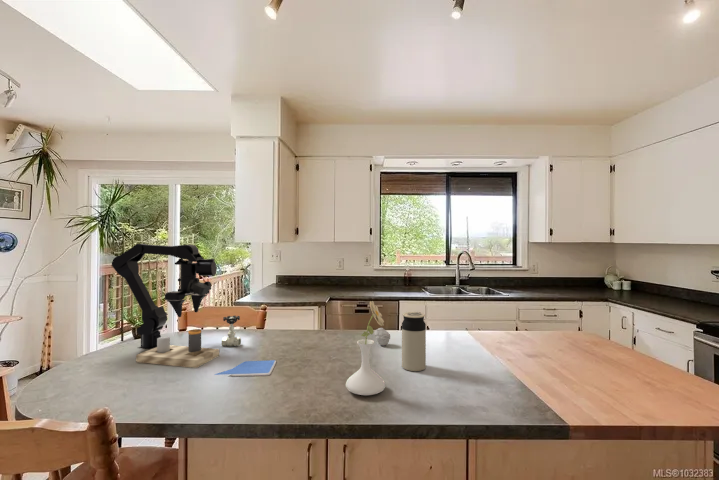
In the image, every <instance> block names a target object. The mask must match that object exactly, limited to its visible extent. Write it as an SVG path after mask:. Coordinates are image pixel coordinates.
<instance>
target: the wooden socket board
mask: <svg viewBox="0 0 719 480" xmlns="http://www.w3.org/2000/svg"><path fill="white" fill-rule="evenodd" d="M219 356H220V348H209V347H201V350H200V351H197V352H189V351H188V346H185V345H173V344H172V345H171V344H170V351H168V352H166V353H157V347H155V348H152V349H147V350H145V351H143V352H140V353H138V354H136V358H135V361H136V363H142V364H152V365H153V364H154V365H155V364H156V365H162V366H163V365H165V366H173V367H185V368H192V369H193V368H194V369H197V368H199V367H201V366H202V365H205V364H206V363H209V362H211V361H212V360H214V359H216V358H218V357H219Z"/></svg>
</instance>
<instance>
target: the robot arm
mask: <svg viewBox="0 0 719 480" xmlns="http://www.w3.org/2000/svg"><path fill="white" fill-rule="evenodd" d="M146 254H148V255H159V256H160V255H161V256H170V257H175V258H178V260H177V261H175V262H174V265H176V266H177V265H179V266H180V268H179V269H180V271H179V272H180V278H177V282H180V285H179V288H178V289H177V291H176V290H173V291H168V292H166V293H165V294H164V300H165V301H167V302H168V303H169V304H170V306H171V307H172V308H173V310H174V312H175V313H176V316H177V317H178V318H181V317H182V315H183V303H184V302H185V301H186V299H185V298H186V297H188V296H190V297H191V303H192V307H193V311H194V313H198V311H199V309H200V307H201V304H202V301H203V299H204V298H205V297H207V296H208V294H210V291H211V290H212V282H211V281H204V282H201V281H200V279H199V277H197V274H198V276H201V277H202V276H203V277H204V276H205V277H207V276H208V277H209V276H210V277H211V276H214V277H215V275H216V274H217V271H218V266H217V264H216V262H215V258H207V259H206V258H204V257H203V255H201V253H200V252H199V249H198V247H197V246H196V245H194V244H179V245H172V246H171V245H160V244H159V245H157V244H147V243H137V244H135V245H133V246H132V247H131V248H129V249H128V250H126V251H124V252H122V253H121V254H120V255H118V256H115V257H114V258H113V260H112V261H111V267H112V268H113V269H114V270H115V272H116V273H117V274H118V275H119V276H120V277H122V278H123V279H124V280H125V281H126V283H127V284H128V287H129V289H130V291H131V292H132V294H133V296H134V299H135V300H136V302H137V304H138V305H139V308H140V309H141V319H142V322H143V323H142V324H141V325H140V326H139V327H138V328H137V329H136V332H137V334H138V336H140V346H139V347H137V349H144V350H145V349H146V350H151V349H154V348H156V347H157V338H160V337H162V335H161V330H162V329H163V327H164V325H166V323H167V321H168V316H167V315H168V313H167V312H166V310H165V308H164V306H159V307H158V305H156V304H155V302H154V300H153V298H152V296H151V294H150V292H149V290H148V289H147V287H146V285H145V283H144V281H143V280H142V277H141V275H140V273H139V269H140V268H139V263H138V262H140V261H141V260H142V259H143V257H144V256H145V255H146Z"/></svg>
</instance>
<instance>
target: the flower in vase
mask: <svg viewBox="0 0 719 480" xmlns="http://www.w3.org/2000/svg"><path fill="white" fill-rule="evenodd" d="M369 307H370V310H371V313H372V315H371V316H370V319H369V320H368V324H367V326H366V327H367V328H366V331H363V333H362V334H361V335H360V336H361V337H365V338H364V339H358V340H357V341H356V343H357V345H358V346H359V348H360V352H361V355H360V356H361V365H360V368H359V369H358V370H357V371H355V372H354V373H353V374H352V375H350V376H349V378H347V380H346V382H345V388H346V389H347V390H348V391H349V392H350V393H352V394H355V395H359V396H360V395H361V396H372V395H377V394H380V393H381V392H383V391H384V390H385V388H386V385H387V384H386V382H385V379H384V378H383V377H381V376H380V374H379V373H377V372H375V370H373V369H372V367H371V365H370V363H371V362H370V361H371V360H370V356H371V350H372V348H373V345H374V344H375V340H372V339H368V336H369V335H373V334H374V332H375V330H374V329H373V327H372V326H371V325H370V323H371V322H372V320H373V318H374V319H375V321H376V322H377V325H379V326H381V327H383V326H385V324H384V323H385V320H384V318H382V317H383V315H382V313H381V312H380V310H379V307H378V306H377V305H375V302H374V301H373V300H372V301H371V300H370V301H369Z"/></svg>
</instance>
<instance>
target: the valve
mask: <svg viewBox="0 0 719 480" xmlns="http://www.w3.org/2000/svg"><path fill="white" fill-rule="evenodd" d="M240 317H241V316H240V315H237V316H236V315H232V316H231V315H227V316H224V317H223V319H222V321H223V322H226V323H227V324H229V326H228V330H229V331H228V332H227V336H224V337H222V340H221V347H229V348H231V347H240V346H241V344H242V338H241V337H240V336H236V332H235V331H234V329H235V326H234V324H235V323H237V322H238V321H239V320H241V318H240Z"/></svg>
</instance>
